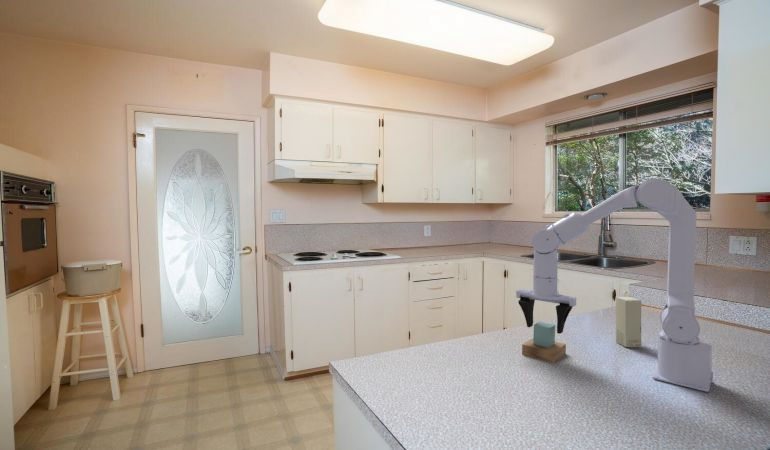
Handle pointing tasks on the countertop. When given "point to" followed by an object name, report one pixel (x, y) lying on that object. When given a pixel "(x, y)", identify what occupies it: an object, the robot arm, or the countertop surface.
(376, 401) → the countertop surface
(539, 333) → the teal block
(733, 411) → the countertop surface
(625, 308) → the box
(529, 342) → the tan wooden block
